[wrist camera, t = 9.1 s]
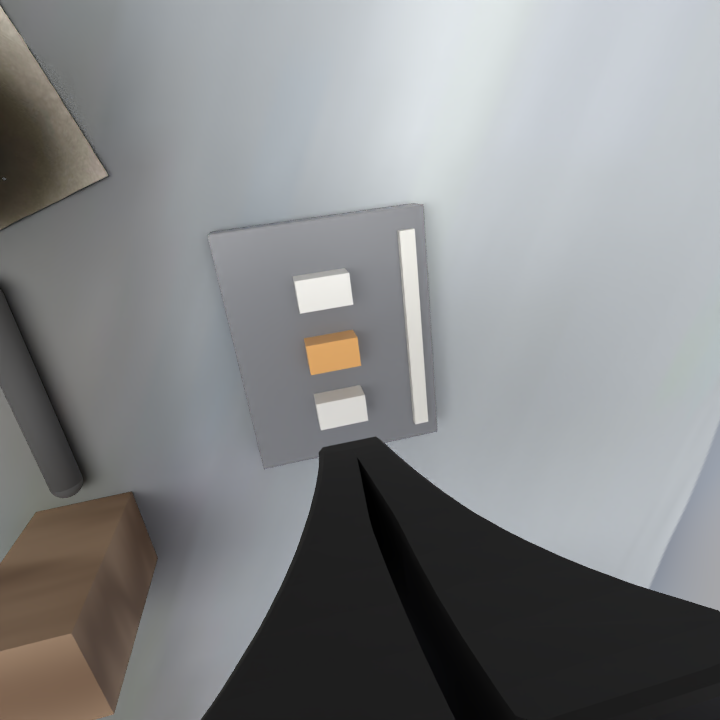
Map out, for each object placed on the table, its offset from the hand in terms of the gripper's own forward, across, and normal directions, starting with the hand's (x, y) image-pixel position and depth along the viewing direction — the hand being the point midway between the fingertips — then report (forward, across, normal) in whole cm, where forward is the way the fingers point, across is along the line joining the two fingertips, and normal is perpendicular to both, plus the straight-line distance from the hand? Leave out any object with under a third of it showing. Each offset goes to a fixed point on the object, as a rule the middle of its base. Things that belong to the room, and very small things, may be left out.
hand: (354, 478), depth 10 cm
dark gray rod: (+10, +11, 0) cm, 15 cm away
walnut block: (+10, +11, +8) cm, 17 cm away
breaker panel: (+10, -1, 0) cm, 10 cm away
